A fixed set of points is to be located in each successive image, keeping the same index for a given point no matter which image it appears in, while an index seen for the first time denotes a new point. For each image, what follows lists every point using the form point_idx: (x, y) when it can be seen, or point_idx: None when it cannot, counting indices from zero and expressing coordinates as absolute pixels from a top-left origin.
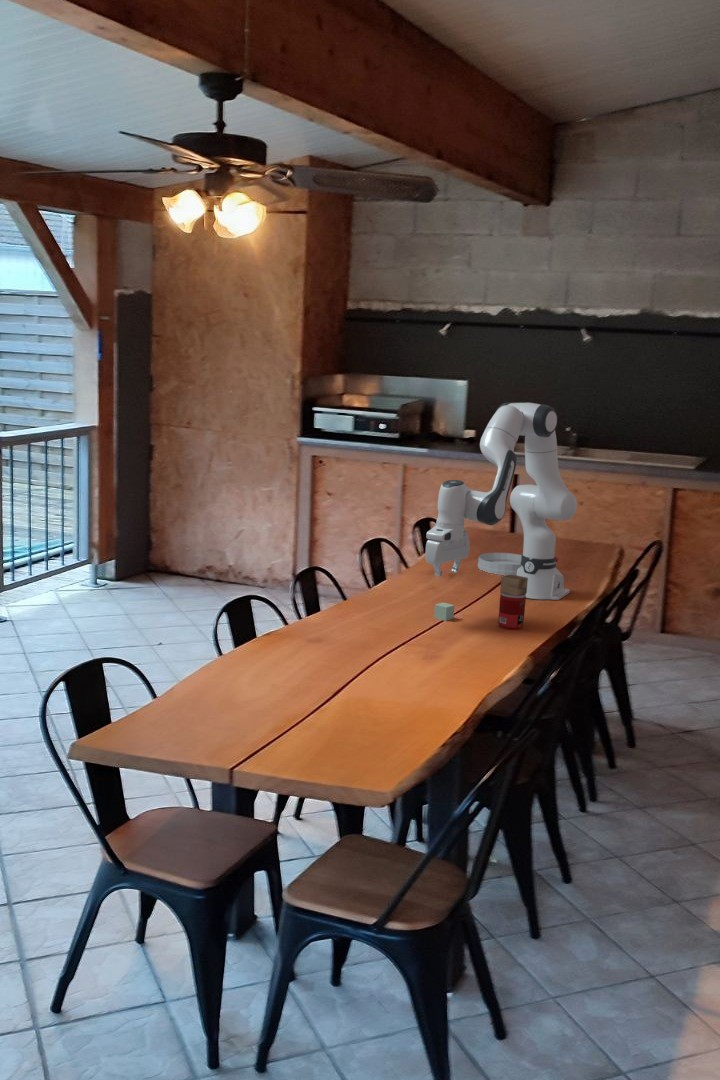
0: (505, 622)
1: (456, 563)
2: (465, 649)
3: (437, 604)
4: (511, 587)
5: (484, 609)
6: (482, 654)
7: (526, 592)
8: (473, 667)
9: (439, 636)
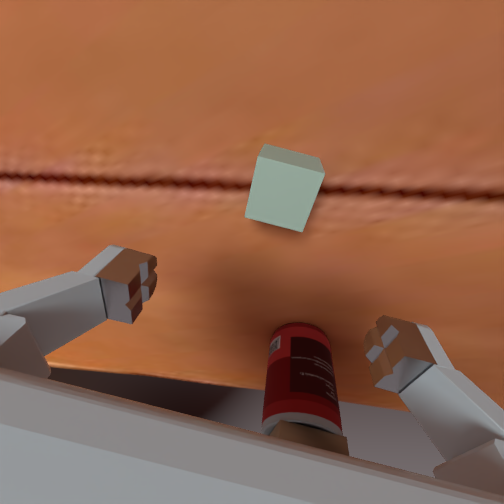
0: (269, 349)
1: (452, 424)
2: None
3: (269, 164)
4: None
5: (488, 263)
6: None
7: None
8: None
9: (91, 232)
